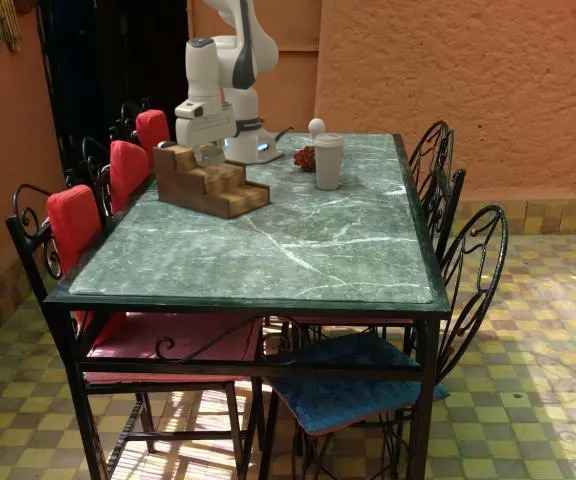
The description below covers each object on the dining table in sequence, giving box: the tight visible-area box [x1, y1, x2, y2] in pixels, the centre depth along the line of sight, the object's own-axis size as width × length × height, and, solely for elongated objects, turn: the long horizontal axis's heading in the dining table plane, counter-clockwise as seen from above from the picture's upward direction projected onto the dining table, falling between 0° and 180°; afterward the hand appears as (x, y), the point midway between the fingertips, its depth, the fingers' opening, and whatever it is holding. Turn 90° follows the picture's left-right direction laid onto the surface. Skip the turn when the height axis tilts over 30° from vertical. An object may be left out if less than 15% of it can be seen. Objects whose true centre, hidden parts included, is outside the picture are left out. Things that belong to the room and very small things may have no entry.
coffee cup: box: [312, 132, 346, 191], centre depth 193 cm, size 10×10×15 cm
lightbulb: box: [307, 118, 326, 146], centre depth 235 cm, size 6×6×11 cm
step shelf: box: [152, 141, 271, 220], centre depth 182 cm, size 18×28×15 cm, turn 51°
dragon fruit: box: [292, 145, 316, 172], centre depth 212 cm, size 8×8×12 cm
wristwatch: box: [195, 145, 226, 167], centre depth 179 cm, size 9×6×5 cm
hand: (209, 158), depth 180 cm, fingers closed on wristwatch, 6 cm apart
